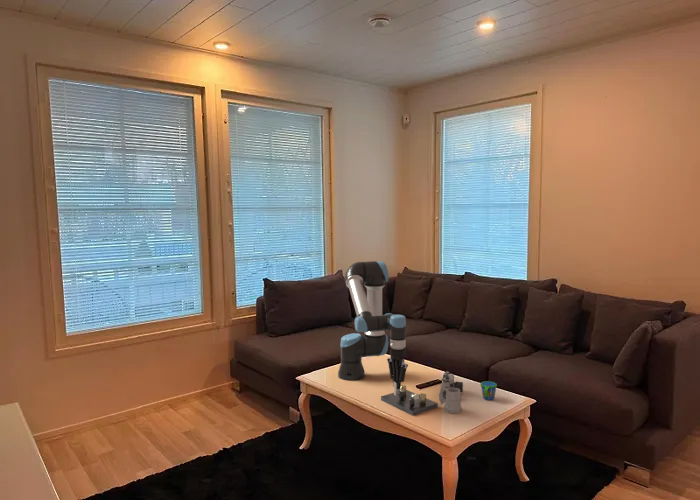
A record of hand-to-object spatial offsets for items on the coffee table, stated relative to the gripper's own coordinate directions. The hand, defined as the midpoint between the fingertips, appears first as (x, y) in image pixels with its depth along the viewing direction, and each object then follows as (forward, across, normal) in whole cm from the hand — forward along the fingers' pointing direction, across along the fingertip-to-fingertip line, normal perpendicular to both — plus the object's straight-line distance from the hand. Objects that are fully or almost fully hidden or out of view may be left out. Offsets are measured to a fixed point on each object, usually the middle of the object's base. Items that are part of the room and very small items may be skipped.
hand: (396, 394), depth 243 cm
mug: (+4, +21, +14) cm, 26 cm away
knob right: (+2, +12, +6) cm, 13 cm away
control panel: (+4, +5, +4) cm, 7 cm away
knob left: (+2, -2, +6) cm, 6 cm away
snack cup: (+4, +23, +40) cm, 46 cm away
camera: (+4, +8, +30) cm, 31 cm away
